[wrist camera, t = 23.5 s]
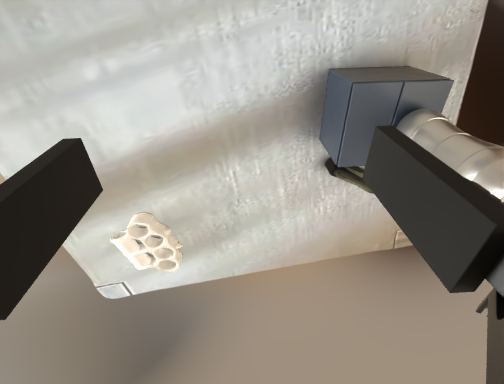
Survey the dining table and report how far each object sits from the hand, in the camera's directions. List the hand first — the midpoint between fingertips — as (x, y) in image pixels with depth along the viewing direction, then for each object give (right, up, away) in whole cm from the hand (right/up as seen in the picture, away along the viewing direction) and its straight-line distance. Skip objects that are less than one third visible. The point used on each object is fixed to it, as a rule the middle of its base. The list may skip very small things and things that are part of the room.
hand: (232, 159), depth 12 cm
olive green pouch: (+23, +3, +44) cm, 50 cm away
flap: (+18, +8, +27) cm, 34 cm away
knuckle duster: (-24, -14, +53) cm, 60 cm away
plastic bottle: (+25, +8, +27) cm, 38 cm away
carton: (+21, +15, +36) cm, 44 cm away
